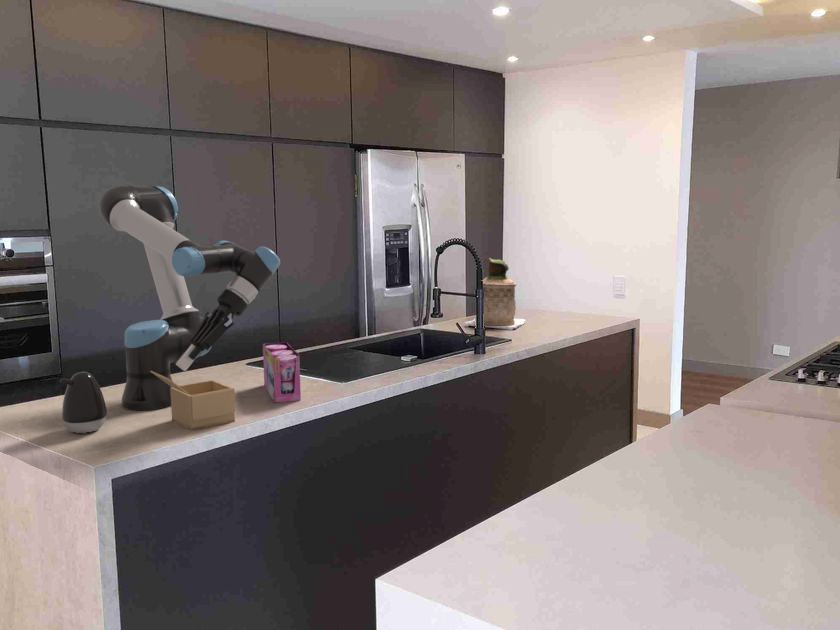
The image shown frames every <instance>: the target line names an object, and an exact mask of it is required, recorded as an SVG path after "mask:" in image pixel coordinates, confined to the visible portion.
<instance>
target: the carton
mask: <svg viewBox="0 0 840 630" xmlns="http://www.w3.org/2000/svg"><path fill="white" fill-rule="evenodd" d="M179 386H180V387H181V388H182V389H184V390H185V391H186V392H188V393H189V395H188V394H186V393H184V392H182V391H180V390H177V389H175V388H173V387H170V391H171V406H170V409H171V421H173V422H175V424H177V425H180V426H182V427H184V428H185V427H186V428H185V429H187V428H188V429H187V430H189V431H191V432H193V431H197V429H198V430H201V429H205V428H211V427H215V426H220V425H224V424H228V423H229V424H230V423H234V422H236V418H235V417H236V415H235V414H236V399H235V398H236V397H235V396H236V395H235V388H234V387H232V386H229V385H227V384H224V383H222V382H219V381H217V380H215V379H210V380H205V381H199V382H193V383H187V384H182V385H179ZM192 430H193V431H192Z"/></svg>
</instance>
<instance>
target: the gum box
mask: <svg viewBox="0 0 840 630" xmlns="http://www.w3.org/2000/svg"><path fill="white" fill-rule="evenodd" d="M262 355H263V356H262V357H263V358H262V361H263V380H264V382H263V383H264V387H265V389H266V390H267V392H268V393H269V396H270V395H271V396H270V397H271V399H272V400H273V402H274V403H275V402H276V403H287V401H289V402H300V400H301V399H302V398H301V397H302V396H301V394H302V393H301V391H302V390H301V369H300V368H301V365H300V364H301V363H300V354H299V353H298V352H297V351H296V350H295V349H293V347H292V346H291V345H290V344H289V343H288V342H287V341H282V342H267V343H266V342H265V343H263V344H262Z"/></svg>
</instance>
